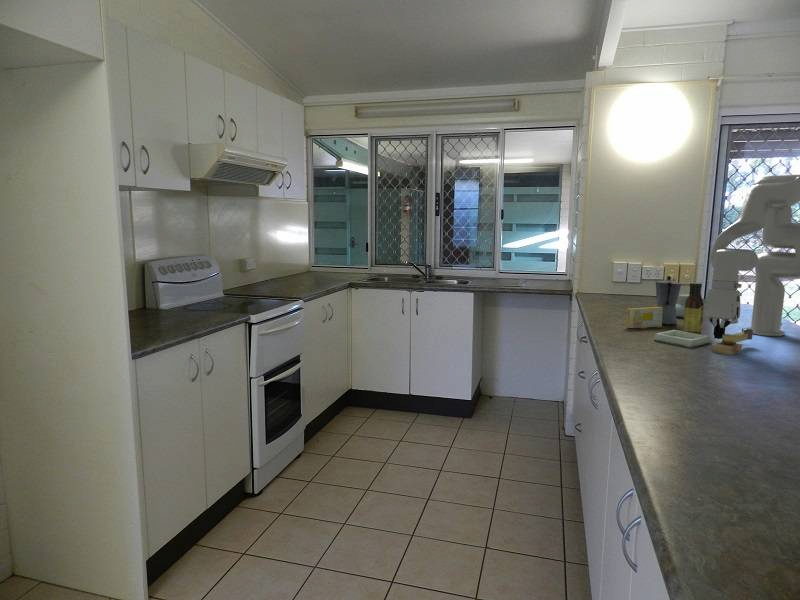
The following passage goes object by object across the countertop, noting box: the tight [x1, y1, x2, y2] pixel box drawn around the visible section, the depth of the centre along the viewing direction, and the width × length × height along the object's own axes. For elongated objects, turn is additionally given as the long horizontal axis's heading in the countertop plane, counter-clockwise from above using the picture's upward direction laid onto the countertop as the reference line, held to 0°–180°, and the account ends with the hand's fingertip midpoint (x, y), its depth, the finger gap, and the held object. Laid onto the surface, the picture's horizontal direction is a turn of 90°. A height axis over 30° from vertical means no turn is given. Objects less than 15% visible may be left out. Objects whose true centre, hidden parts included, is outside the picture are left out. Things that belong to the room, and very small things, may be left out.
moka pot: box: [655, 275, 682, 325], centre depth 226 cm, size 10×15×20 cm, turn 161°
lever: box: [721, 328, 754, 344], centre depth 183 cm, size 17×4×3 cm, turn 125°
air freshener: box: [676, 294, 690, 319], centre depth 243 cm, size 11×8×10 cm
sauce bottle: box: [682, 282, 705, 335], centre depth 204 cm, size 7×6×20 cm
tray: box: [653, 329, 711, 348], centre depth 193 cm, size 13×13×2 cm
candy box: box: [626, 306, 663, 329], centre depth 218 cm, size 16×2×8 cm, turn 108°
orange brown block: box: [711, 341, 743, 356], centre depth 179 cm, size 8×6×3 cm
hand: (718, 338), depth 188 cm, fingers closed
